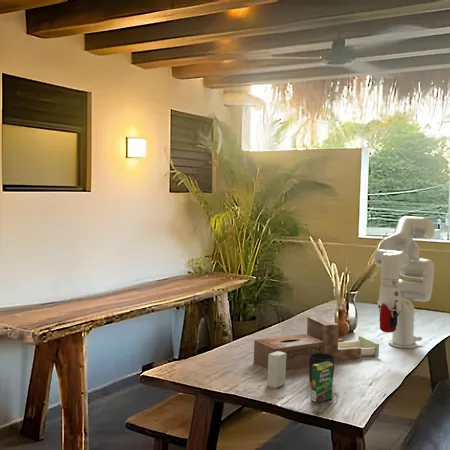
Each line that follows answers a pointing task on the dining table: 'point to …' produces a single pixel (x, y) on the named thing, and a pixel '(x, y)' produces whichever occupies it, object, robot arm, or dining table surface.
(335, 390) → the dining table surface
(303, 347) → the tissue box cover
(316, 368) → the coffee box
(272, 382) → the skincare box
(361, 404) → the dining table surface
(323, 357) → the pen holder
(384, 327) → the beverage can
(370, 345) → the tray
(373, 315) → the dining table surface
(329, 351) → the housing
